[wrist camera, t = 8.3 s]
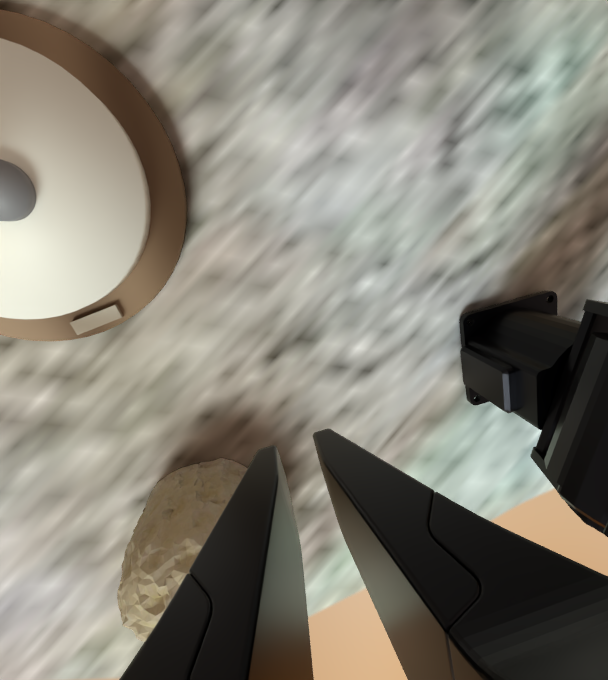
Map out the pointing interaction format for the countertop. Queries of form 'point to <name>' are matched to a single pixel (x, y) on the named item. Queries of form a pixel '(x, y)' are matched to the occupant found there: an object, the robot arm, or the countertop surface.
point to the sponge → (172, 538)
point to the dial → (63, 191)
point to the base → (158, 170)
